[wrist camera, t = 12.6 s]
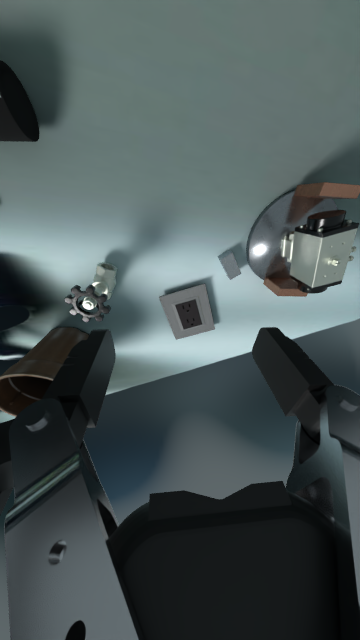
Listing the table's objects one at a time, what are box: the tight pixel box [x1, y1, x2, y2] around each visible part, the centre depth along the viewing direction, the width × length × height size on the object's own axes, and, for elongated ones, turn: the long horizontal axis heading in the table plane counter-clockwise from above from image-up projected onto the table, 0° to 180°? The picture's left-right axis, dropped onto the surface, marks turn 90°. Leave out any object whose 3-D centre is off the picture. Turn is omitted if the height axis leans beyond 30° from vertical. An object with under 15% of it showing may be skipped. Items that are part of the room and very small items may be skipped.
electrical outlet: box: [159, 283, 215, 340], centre depth 43 cm, size 13×10×2 cm
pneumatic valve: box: [281, 210, 359, 293], centre depth 30 cm, size 6×12×12 cm, turn 15°
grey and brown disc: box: [246, 182, 360, 296], centre depth 33 cm, size 18×17×8 cm
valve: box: [65, 262, 117, 322], centre depth 32 cm, size 7×7×12 cm
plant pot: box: [0, 327, 89, 417], centre depth 40 cm, size 16×16×16 cm
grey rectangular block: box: [218, 250, 241, 280], centre depth 37 cm, size 5×2×2 cm, turn 32°
